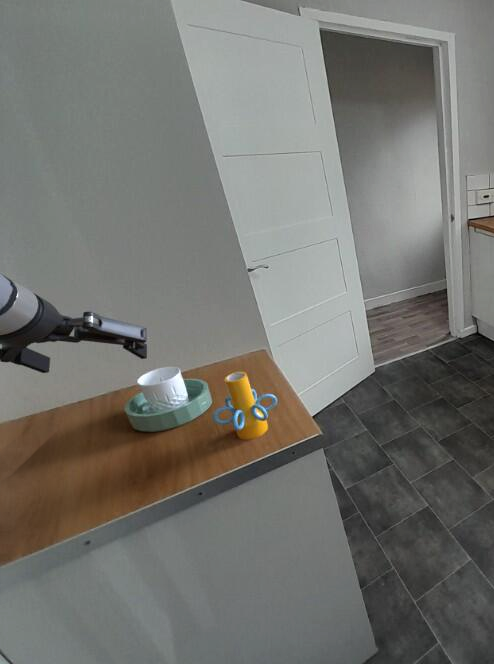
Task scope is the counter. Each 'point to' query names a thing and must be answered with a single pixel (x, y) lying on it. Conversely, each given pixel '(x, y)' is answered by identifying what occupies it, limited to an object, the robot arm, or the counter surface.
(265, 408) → the yellow vase
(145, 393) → the white cup
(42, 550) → the counter surface
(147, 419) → the green bowl
